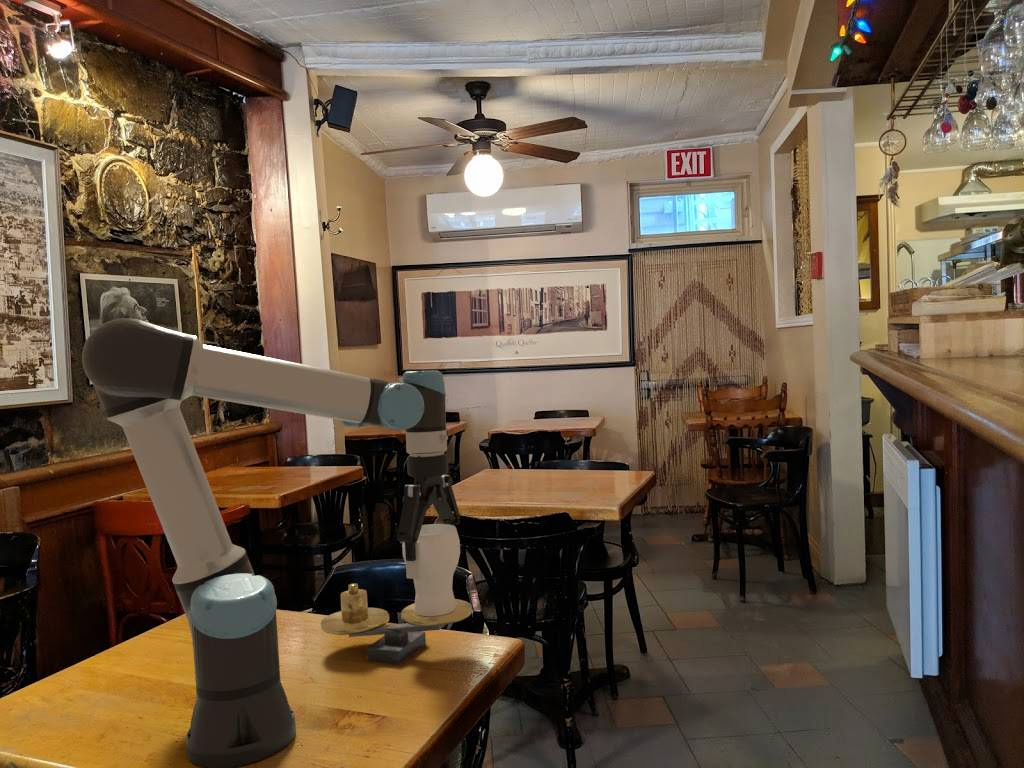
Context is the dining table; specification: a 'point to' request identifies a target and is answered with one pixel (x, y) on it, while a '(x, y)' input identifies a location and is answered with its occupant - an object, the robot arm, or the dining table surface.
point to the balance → (372, 621)
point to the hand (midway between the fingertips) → (432, 568)
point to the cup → (436, 569)
